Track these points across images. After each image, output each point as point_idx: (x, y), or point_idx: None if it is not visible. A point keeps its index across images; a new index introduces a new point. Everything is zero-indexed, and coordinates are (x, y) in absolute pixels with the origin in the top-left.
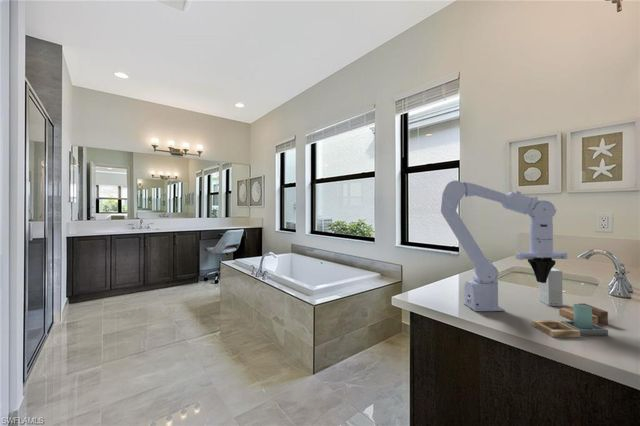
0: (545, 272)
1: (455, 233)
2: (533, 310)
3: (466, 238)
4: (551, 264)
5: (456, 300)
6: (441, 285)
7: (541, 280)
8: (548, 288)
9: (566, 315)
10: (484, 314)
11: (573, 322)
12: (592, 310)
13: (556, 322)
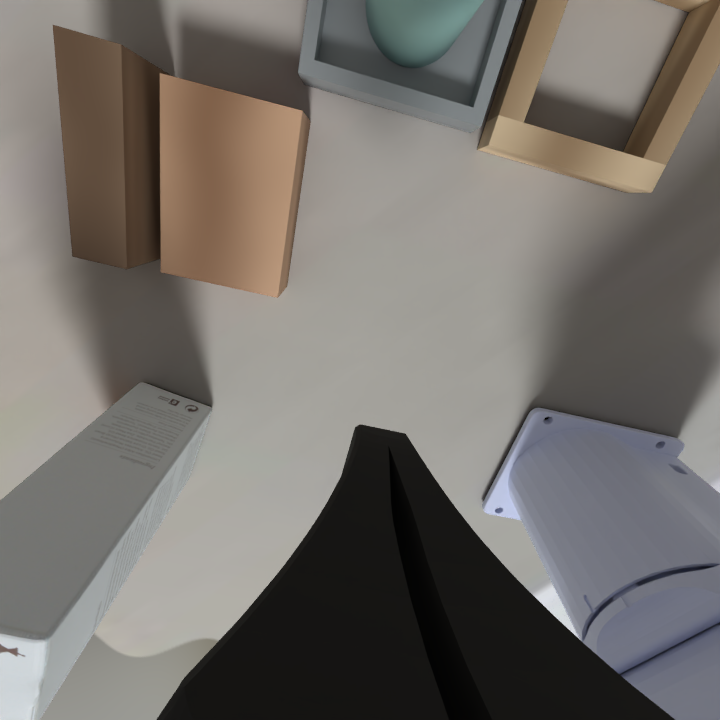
0: (388, 524)
1: None
2: (363, 378)
3: None
4: (329, 675)
5: None
6: None
7: (416, 452)
8: (160, 482)
9: (291, 235)
10: (675, 400)
11: (405, 90)
12: (131, 134)
13: (525, 123)
